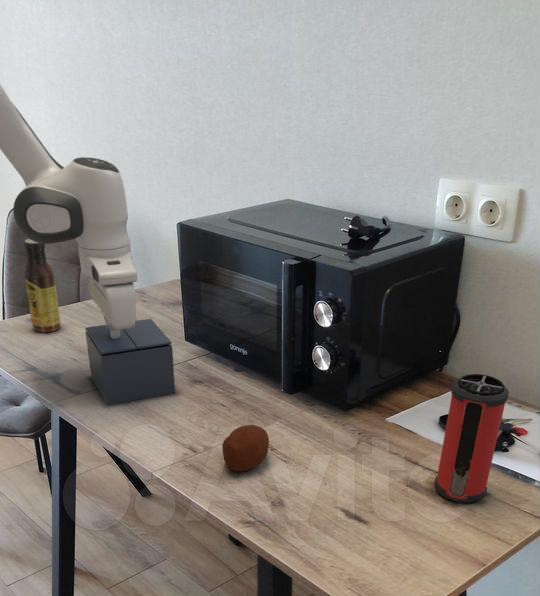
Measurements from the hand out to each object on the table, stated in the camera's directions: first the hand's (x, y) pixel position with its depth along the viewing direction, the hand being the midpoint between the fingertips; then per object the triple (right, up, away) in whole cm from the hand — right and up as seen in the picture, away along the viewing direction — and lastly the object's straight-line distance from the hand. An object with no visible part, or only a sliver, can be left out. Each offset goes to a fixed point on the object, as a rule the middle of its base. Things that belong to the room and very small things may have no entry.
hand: (113, 336), depth 129 cm
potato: (+25, -24, -17) cm, 38 cm away
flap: (-1, -1, 0) cm, 1 cm away
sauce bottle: (-22, +8, +30) cm, 38 cm away
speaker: (+58, -28, -22) cm, 68 cm away
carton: (+2, -8, +7) cm, 11 cm away
